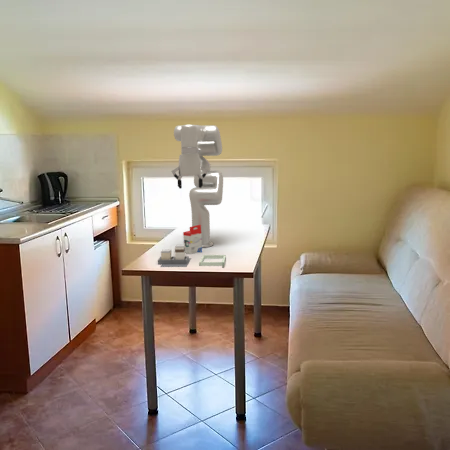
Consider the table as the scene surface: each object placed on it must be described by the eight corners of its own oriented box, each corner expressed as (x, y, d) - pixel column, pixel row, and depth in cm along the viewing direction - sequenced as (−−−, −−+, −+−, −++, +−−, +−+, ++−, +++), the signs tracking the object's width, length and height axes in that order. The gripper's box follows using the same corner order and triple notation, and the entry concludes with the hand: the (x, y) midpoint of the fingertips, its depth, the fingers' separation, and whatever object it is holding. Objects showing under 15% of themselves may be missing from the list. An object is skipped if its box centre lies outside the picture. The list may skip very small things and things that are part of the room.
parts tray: (202, 260, 236) (202, 255, 235) (225, 260, 235) (225, 254, 234) (199, 267, 222) (199, 262, 221) (223, 267, 221) (223, 262, 221)
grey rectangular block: (176, 261, 230) (176, 244, 229) (185, 261, 230) (184, 244, 229) (175, 263, 226) (174, 246, 225) (184, 263, 226) (183, 246, 225)
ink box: (195, 251, 254) (194, 223, 251) (202, 252, 251) (201, 224, 248) (183, 254, 247) (182, 226, 245) (190, 256, 244) (189, 227, 241)
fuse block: (162, 260, 237) (162, 246, 236) (191, 260, 236) (191, 246, 235) (155, 269, 221) (155, 254, 220) (186, 269, 220) (186, 254, 219)
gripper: (205, 151, 237) (206, 186, 240) (169, 151, 233) (170, 188, 235) (209, 151, 230) (209, 187, 233) (172, 151, 226) (173, 189, 228)
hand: (190, 187), depth 234 cm, fingers open, 9 cm apart
